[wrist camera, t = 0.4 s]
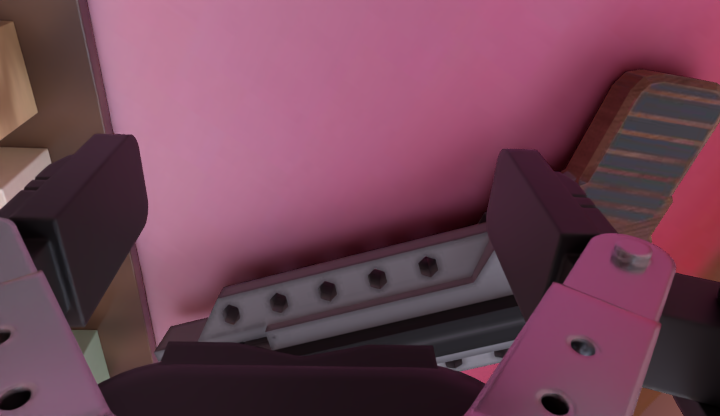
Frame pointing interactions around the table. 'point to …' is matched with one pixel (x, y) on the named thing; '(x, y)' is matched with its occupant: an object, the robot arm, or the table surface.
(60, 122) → the walnut board
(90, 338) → the sage block
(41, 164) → the cream block
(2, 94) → the beech block
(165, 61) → the table surface
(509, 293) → the futuristic gun
